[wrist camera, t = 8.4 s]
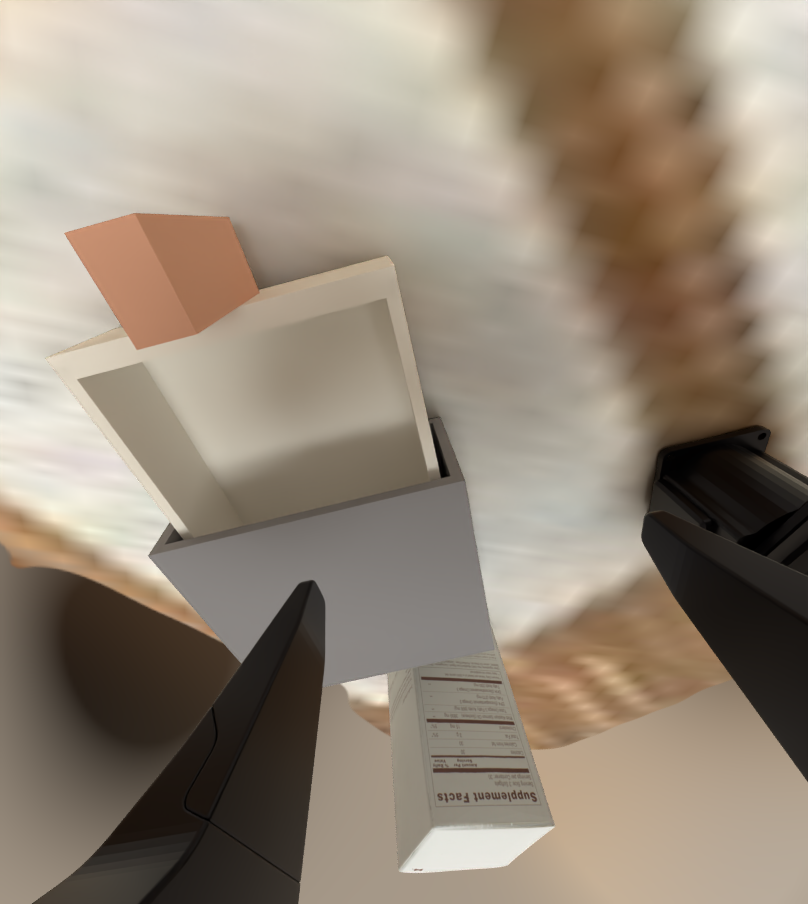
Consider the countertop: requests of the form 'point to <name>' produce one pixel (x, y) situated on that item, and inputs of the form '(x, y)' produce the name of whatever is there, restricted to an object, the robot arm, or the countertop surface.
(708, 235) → the countertop surface
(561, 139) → the countertop surface
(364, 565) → the mailer sleeve
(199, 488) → the tray
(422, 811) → the supplement box
